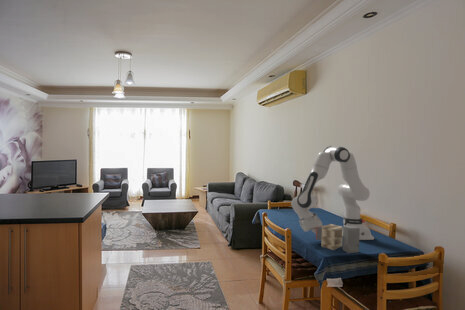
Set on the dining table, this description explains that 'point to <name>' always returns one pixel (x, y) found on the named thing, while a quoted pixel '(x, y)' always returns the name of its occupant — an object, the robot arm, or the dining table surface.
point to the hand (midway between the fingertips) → (318, 234)
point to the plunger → (319, 232)
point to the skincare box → (351, 239)
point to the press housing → (331, 236)
